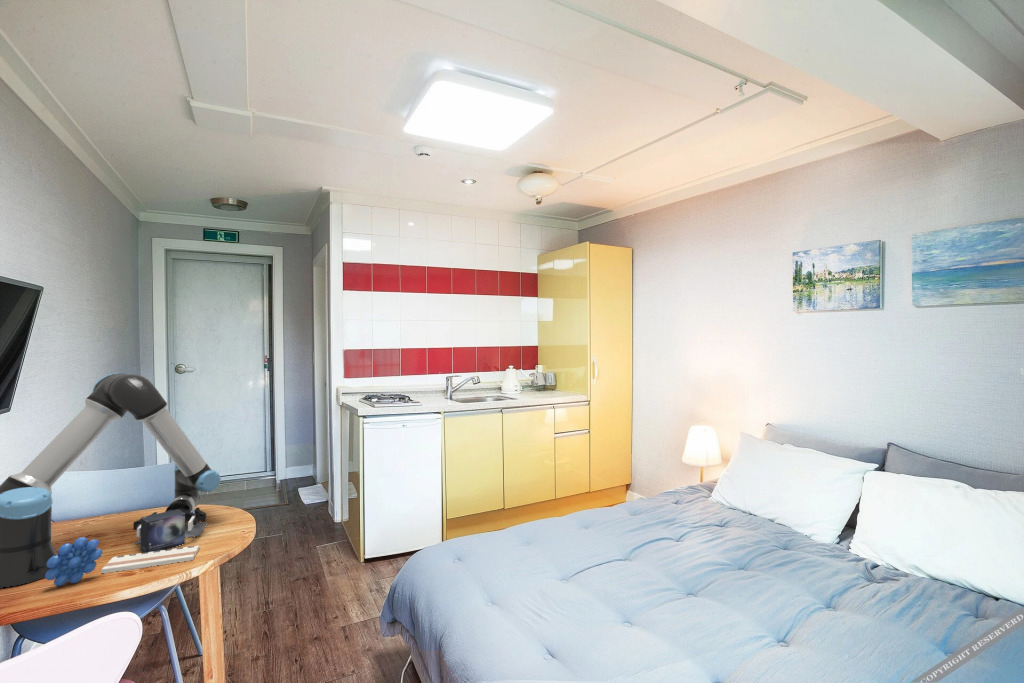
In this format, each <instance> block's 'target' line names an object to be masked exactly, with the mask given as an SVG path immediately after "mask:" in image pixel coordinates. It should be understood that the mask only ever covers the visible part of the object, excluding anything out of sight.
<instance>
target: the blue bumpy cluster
mask: <svg viewBox="0 0 1024 683" xmlns="http://www.w3.org/2000/svg"><path fill="white" fill-rule="evenodd" d="M99 545H100V540H98V539H96V538H95V539H90V540H89V541H88V538H87V537H86V536H82V537H78V538H77V539H75V540H74V541H73V543H71V542H68V543H63V544H62V545H61V546H60V547H58V550H57V555H55V556H53V557H51V558H50V559H49V560H48V561H47V563H46V565H47V567H48V568H51V569H50V570H48V571H47V573H46V574H45V577H44V579H45V580H47V581H52V580H54V581H53V585H54V586H56V587H60V586H64V585H65V584H66V583H67V582H69V583H70V584H76V583H78V582H80V581H81V580H82V578H83V577H84V574H89V573H92V572H93V571H94V570H95V569H96V567H97V562H96V561H97V560H99V559H100V558H101V557H102V555H103V553H104V552H103V549H101V548H98V546H99Z"/></svg>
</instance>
